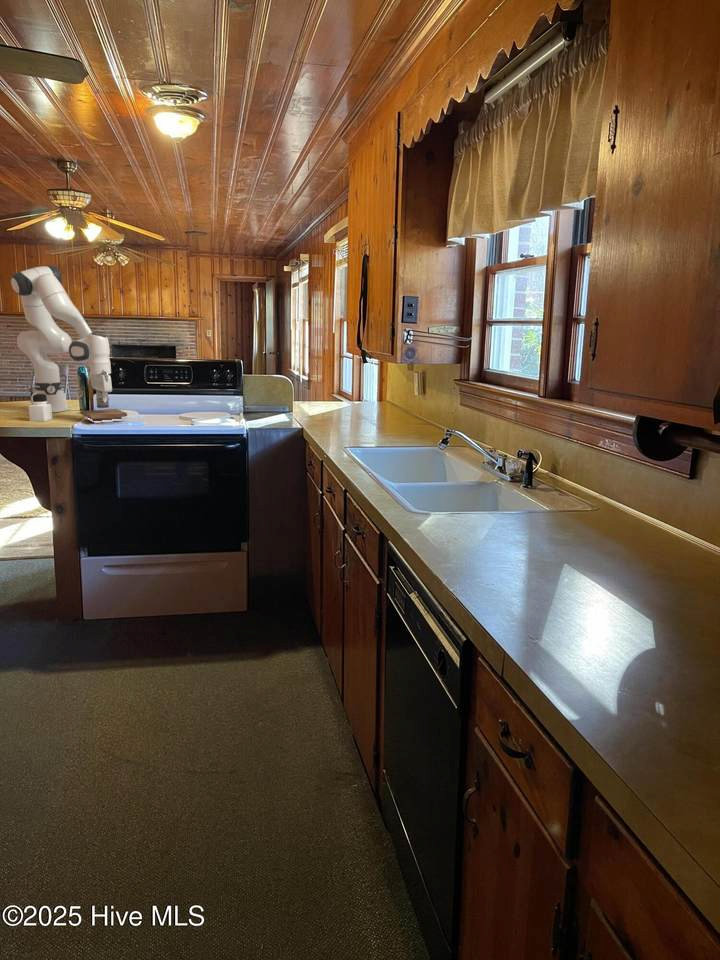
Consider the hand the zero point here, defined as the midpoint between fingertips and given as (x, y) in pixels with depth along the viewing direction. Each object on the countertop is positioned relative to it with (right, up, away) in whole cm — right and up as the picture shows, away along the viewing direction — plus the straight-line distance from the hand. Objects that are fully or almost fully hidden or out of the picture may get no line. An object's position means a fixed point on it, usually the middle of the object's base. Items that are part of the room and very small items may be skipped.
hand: (102, 400), depth 319 cm
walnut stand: (0, -9, +2) cm, 9 cm away
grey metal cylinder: (0, -3, +1) cm, 3 cm away
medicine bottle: (-28, -9, +1) cm, 30 cm away
